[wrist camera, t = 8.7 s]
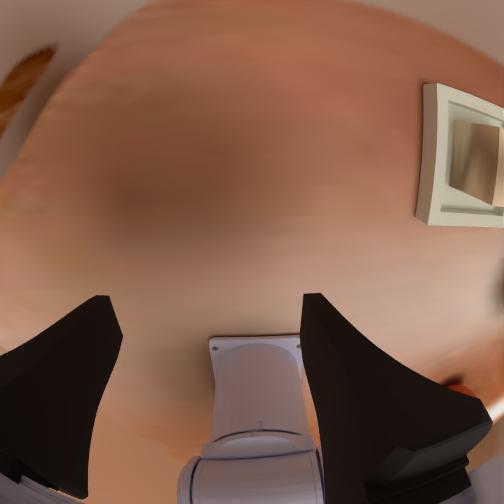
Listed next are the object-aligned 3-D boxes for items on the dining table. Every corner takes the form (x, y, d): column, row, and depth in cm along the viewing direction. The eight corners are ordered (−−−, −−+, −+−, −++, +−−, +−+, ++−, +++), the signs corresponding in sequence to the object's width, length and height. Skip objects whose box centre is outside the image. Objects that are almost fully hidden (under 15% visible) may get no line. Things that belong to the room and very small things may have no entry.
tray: (494, 220, 19) (506, 227, 17) (415, 216, 19) (427, 225, 17) (504, 114, 15) (518, 116, 13) (422, 84, 15) (436, 82, 13)
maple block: (488, 191, 17) (528, 210, 13) (449, 186, 17) (491, 205, 13) (493, 133, 15) (536, 143, 10) (453, 121, 15) (499, 126, 10)
